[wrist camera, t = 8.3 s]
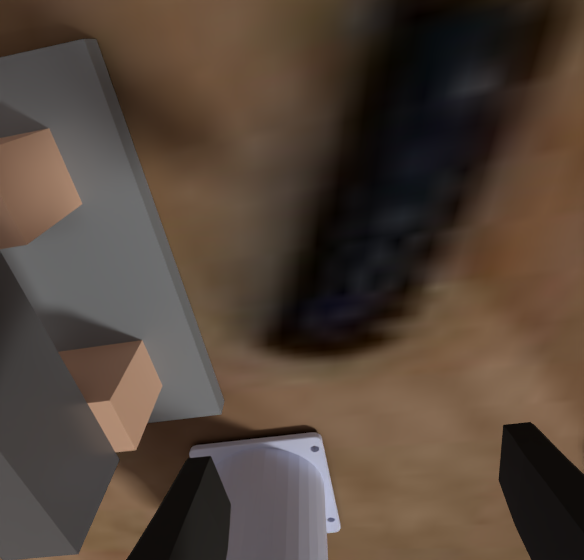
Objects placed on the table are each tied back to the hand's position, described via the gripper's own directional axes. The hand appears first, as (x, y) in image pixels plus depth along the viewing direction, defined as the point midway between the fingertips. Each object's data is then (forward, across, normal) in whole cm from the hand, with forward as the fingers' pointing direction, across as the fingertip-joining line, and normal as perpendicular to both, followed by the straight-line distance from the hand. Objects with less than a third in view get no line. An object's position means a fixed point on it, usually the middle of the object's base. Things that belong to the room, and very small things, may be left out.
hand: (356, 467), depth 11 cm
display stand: (+10, +12, -2) cm, 16 cm away
